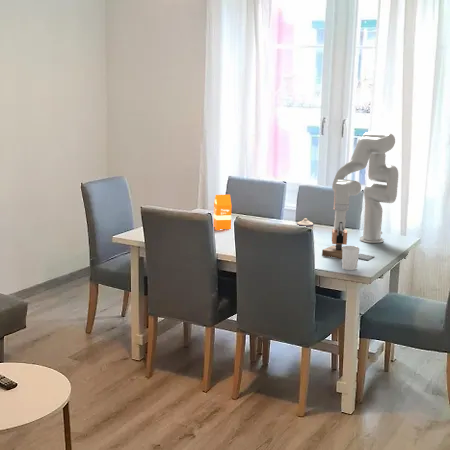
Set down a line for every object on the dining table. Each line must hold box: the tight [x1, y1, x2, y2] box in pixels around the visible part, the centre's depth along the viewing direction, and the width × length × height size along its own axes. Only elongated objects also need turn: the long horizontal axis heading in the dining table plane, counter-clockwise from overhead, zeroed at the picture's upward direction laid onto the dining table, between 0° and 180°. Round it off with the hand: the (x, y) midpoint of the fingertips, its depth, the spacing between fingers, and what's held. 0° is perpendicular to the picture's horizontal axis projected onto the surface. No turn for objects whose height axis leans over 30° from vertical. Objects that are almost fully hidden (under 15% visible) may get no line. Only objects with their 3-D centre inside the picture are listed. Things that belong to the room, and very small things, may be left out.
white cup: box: [341, 245, 360, 271], centre depth 326 cm, size 8×8×10 cm
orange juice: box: [213, 194, 233, 231], centre depth 401 cm, size 8×9×20 cm
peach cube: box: [331, 228, 348, 246], centre depth 348 cm, size 7×7×7 cm
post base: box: [321, 244, 343, 260], centre depth 349 cm, size 12×12×11 cm
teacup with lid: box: [296, 217, 314, 230], centre depth 382 cm, size 12×9×12 cm
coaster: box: [358, 253, 375, 261], centre depth 346 cm, size 8×8×1 cm
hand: (339, 241), depth 349 cm, fingers closed on peach cube, 7 cm apart
